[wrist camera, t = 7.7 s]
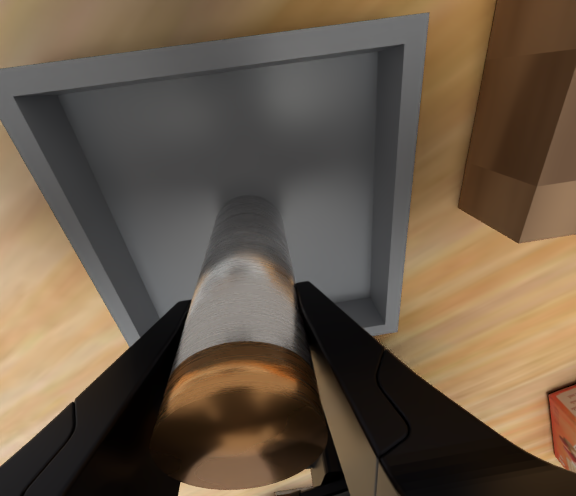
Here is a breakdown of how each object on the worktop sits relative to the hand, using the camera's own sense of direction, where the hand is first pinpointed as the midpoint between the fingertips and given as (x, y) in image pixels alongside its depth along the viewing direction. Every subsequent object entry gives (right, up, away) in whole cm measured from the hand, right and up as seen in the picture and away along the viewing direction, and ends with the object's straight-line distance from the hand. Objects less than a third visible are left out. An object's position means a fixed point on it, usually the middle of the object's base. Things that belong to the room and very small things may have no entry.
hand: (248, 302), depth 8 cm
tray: (-1, +3, +6) cm, 7 cm away
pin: (0, +3, +4) cm, 5 cm away
